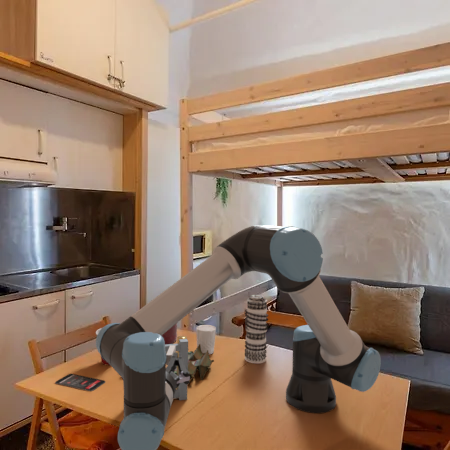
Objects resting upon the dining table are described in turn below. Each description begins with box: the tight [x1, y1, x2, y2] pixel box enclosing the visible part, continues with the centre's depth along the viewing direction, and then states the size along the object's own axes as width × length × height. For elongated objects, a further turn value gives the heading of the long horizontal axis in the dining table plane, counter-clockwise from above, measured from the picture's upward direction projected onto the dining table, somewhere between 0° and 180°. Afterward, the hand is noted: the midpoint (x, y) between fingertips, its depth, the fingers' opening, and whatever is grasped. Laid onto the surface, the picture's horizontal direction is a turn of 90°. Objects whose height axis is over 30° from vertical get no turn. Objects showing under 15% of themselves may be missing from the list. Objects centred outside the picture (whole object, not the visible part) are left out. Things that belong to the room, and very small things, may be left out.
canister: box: [162, 323, 178, 344], centre depth 165 cm, size 13×13×18 cm
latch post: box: [176, 335, 188, 389], centre depth 117 cm, size 3×3×18 cm
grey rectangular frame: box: [165, 338, 189, 401], centre depth 113 cm, size 12×2×18 cm, turn 106°
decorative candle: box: [244, 294, 269, 364], centre depth 146 cm, size 9×9×25 cm
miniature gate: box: [166, 344, 215, 386], centre depth 135 cm, size 27×6×30 cm
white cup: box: [196, 324, 217, 355], centre depth 152 cm, size 8×8×10 cm
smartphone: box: [54, 373, 106, 392], centre depth 123 cm, size 7×1×15 cm
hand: (172, 350), depth 101 cm, fingers closed
